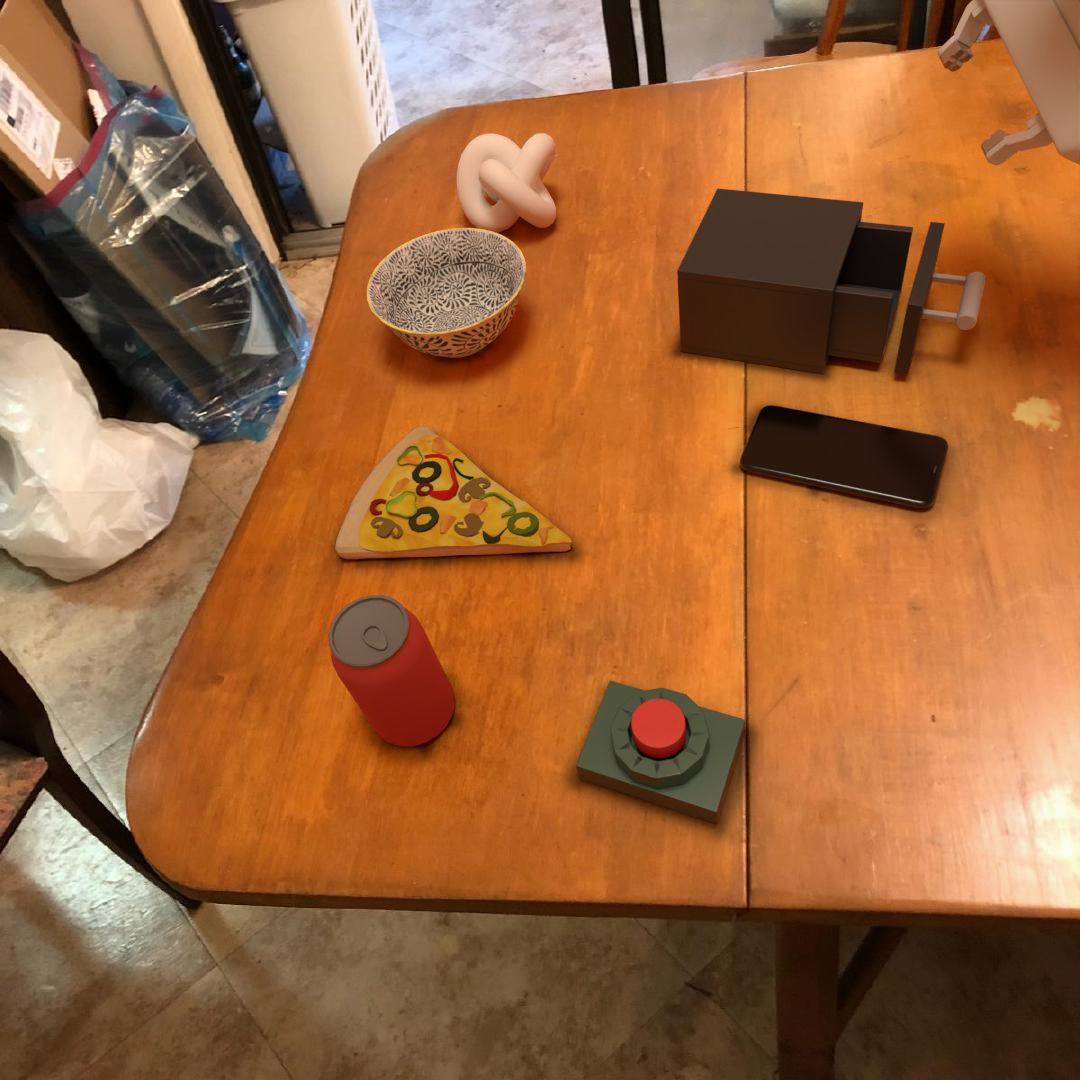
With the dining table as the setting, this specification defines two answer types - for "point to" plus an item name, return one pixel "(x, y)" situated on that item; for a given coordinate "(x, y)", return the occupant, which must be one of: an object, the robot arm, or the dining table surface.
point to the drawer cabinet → (764, 278)
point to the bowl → (449, 290)
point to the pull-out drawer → (891, 294)
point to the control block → (671, 782)
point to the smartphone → (846, 455)
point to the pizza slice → (439, 508)
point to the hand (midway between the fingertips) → (965, 108)
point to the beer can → (391, 670)
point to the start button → (658, 728)
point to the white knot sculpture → (506, 181)
